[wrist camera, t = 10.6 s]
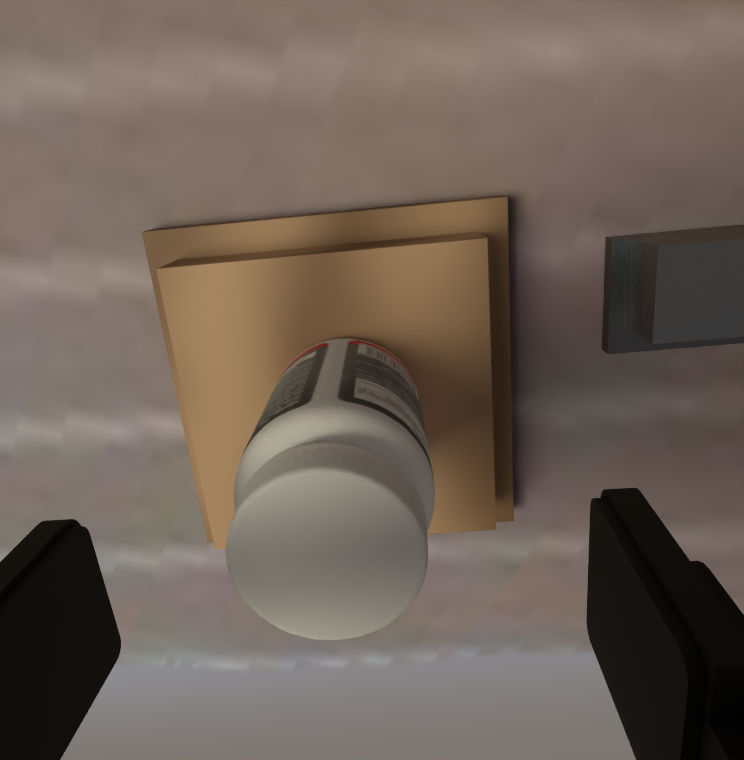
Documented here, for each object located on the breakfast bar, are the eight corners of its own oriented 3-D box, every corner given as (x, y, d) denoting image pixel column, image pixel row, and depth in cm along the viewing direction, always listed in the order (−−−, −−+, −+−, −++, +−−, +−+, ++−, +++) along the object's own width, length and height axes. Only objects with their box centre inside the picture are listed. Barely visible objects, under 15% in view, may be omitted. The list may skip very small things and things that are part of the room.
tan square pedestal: (501, 195, 20) (521, 199, 17) (508, 507, 24) (525, 551, 21) (152, 229, 21) (116, 238, 18) (214, 528, 25) (192, 574, 22)
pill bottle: (287, 476, 21) (227, 667, 13) (264, 343, 19) (178, 466, 11) (426, 463, 20) (453, 651, 12) (414, 327, 19) (436, 442, 11)
